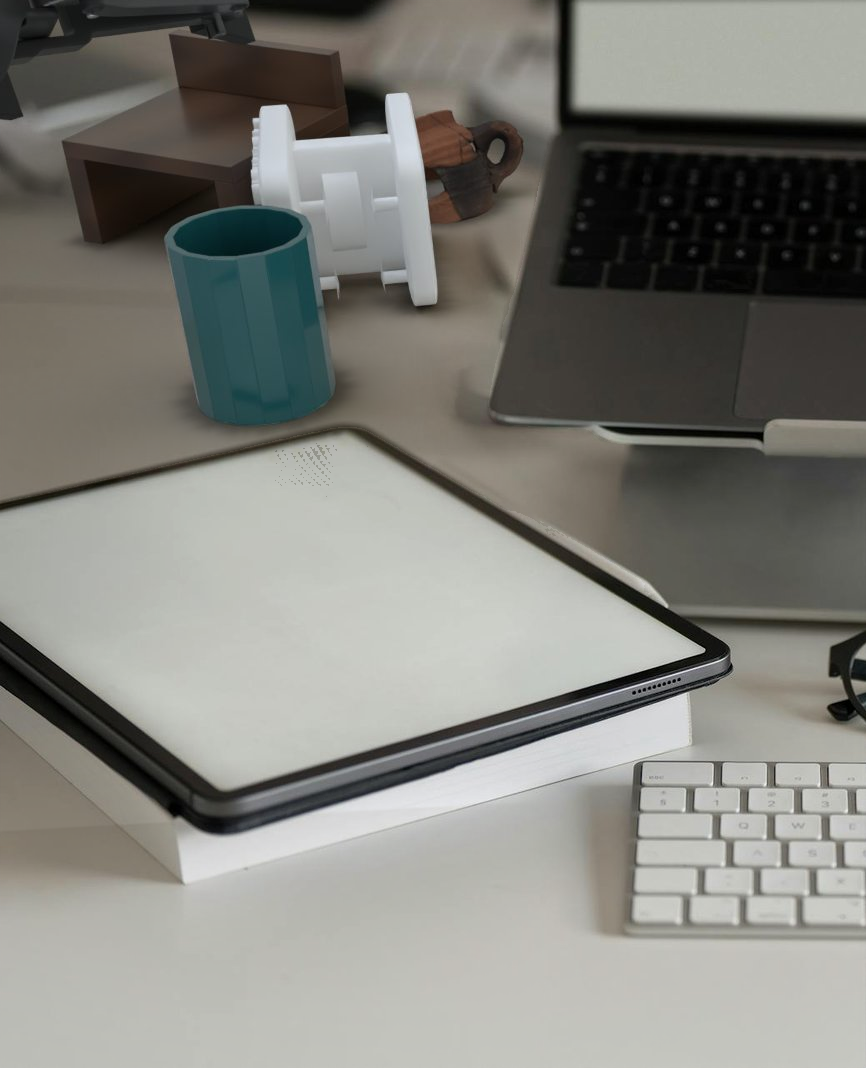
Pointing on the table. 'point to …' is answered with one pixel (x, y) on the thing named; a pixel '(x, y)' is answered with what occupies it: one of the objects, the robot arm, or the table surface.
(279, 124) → the cable organizer
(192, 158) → the desk shelf
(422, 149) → the pottery mug
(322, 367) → the teal cup
